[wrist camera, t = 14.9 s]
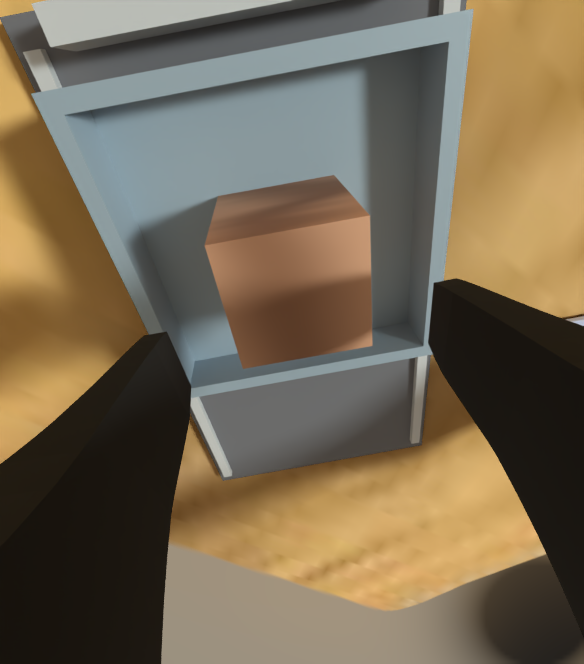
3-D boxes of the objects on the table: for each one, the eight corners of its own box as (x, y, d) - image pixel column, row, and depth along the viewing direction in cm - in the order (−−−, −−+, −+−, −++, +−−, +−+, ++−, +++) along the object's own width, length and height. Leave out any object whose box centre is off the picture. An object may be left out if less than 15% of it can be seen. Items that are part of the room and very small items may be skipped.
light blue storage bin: (415, 27, 13) (473, 8, 10) (404, 308, 20) (435, 353, 17) (87, 90, 13) (31, 93, 10) (192, 347, 20) (181, 399, 17)
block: (334, 175, 14) (369, 215, 9) (341, 279, 16) (372, 346, 12) (218, 195, 14) (204, 245, 10) (244, 296, 16) (242, 369, 12)
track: (464, -69, 12) (510, -101, 10) (418, 438, 28) (432, 467, 26) (9, 20, 12) (-41, 7, 10) (223, 473, 29) (221, 505, 27)
